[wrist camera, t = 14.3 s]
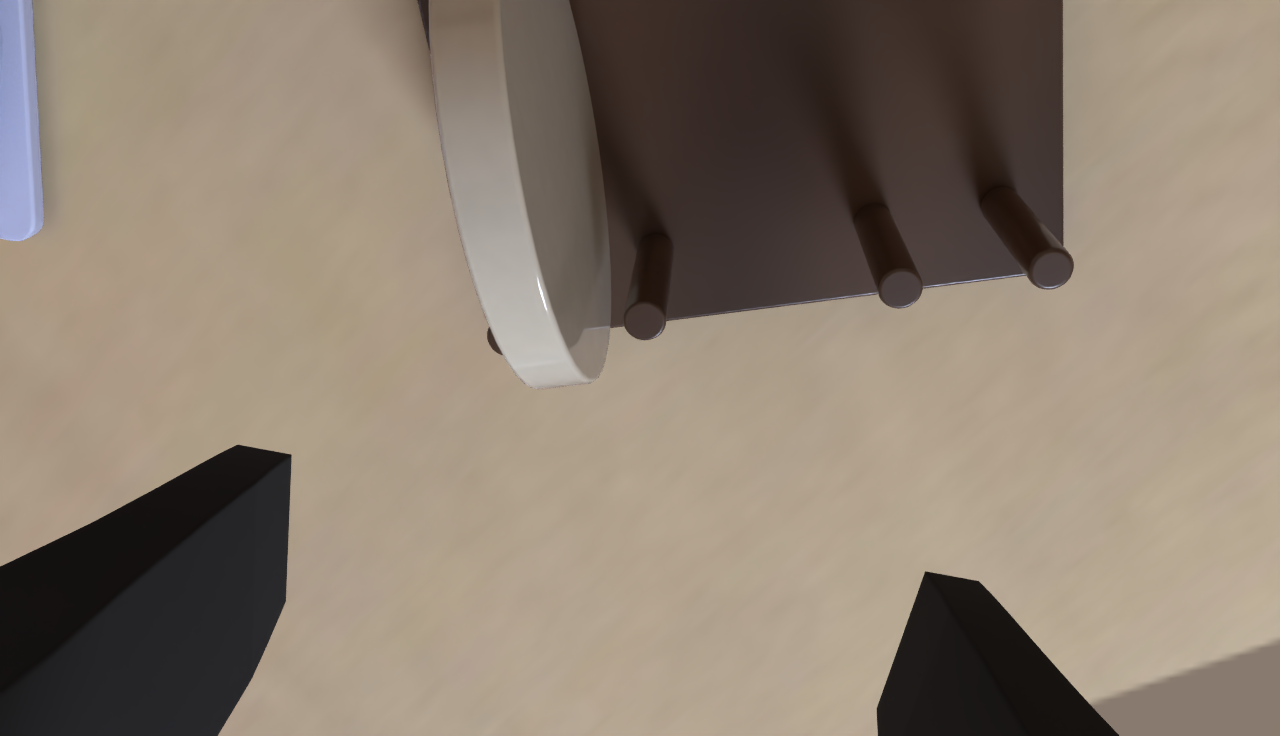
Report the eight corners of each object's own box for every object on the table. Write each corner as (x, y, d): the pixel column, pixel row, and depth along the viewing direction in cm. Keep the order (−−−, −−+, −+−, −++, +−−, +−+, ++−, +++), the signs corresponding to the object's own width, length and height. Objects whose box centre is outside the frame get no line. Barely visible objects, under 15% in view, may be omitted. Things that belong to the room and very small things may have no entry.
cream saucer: (579, 290, 21) (516, 479, 15) (501, -107, 18) (378, -89, 12) (625, 284, 21) (581, 473, 15) (552, -116, 18) (458, -105, 12)
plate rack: (503, 331, 22) (460, 426, 19) (391, -145, 19) (311, -144, 15) (1055, 261, 21) (1127, 348, 17) (1052, -269, 17) (1143, -303, 14)
